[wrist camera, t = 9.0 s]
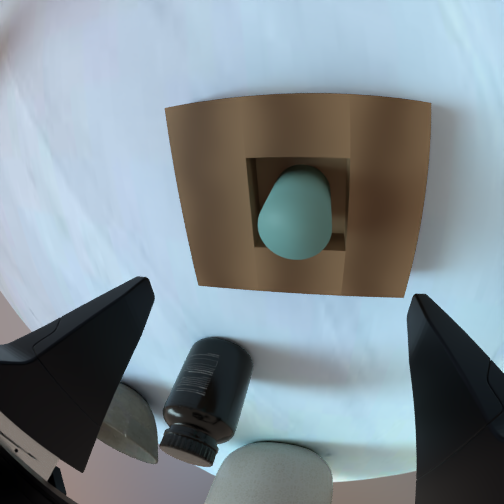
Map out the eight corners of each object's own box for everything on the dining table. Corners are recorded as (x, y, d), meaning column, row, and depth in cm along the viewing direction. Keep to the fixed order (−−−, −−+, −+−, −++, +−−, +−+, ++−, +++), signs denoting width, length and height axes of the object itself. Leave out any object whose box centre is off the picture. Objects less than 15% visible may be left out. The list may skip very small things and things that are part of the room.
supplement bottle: (189, 360, 31) (147, 448, 21) (198, 325, 27) (145, 431, 17) (244, 382, 31) (214, 475, 21) (264, 351, 27) (231, 464, 17)
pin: (330, 165, 16) (333, 193, 12) (329, 217, 18) (330, 261, 13) (273, 164, 17) (254, 192, 13) (276, 216, 18) (260, 257, 14)
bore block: (413, 100, 13) (431, 103, 11) (396, 271, 19) (403, 297, 17) (187, 104, 16) (164, 108, 14) (212, 262, 23) (198, 285, 20)
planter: (361, 445, 36) (348, 549, 20) (310, 472, 48) (294, 545, 32) (238, 419, 37) (200, 531, 21) (218, 450, 49) (191, 525, 33)
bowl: (193, 403, 37) (169, 460, 29) (164, 427, 48) (146, 466, 40) (85, 337, 36) (49, 386, 28) (85, 378, 46) (61, 415, 38)
